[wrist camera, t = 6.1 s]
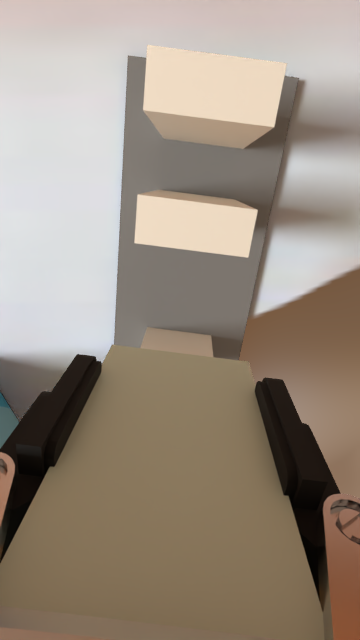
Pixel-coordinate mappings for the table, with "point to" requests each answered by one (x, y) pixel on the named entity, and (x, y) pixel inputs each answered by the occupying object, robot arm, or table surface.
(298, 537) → the domino
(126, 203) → the domino mat
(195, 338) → the domino
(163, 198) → the domino
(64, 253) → the table surface
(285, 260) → the table surface
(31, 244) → the table surface
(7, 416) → the data package
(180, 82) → the domino
